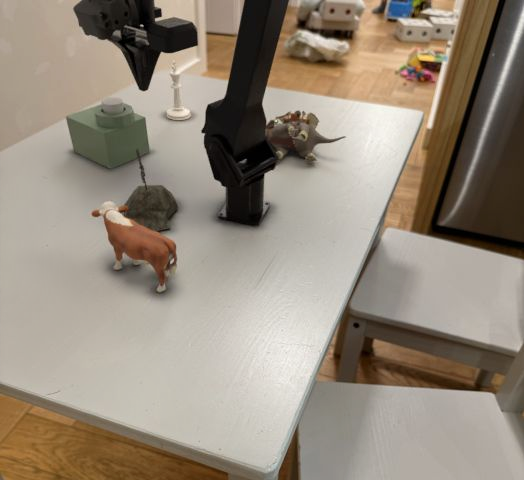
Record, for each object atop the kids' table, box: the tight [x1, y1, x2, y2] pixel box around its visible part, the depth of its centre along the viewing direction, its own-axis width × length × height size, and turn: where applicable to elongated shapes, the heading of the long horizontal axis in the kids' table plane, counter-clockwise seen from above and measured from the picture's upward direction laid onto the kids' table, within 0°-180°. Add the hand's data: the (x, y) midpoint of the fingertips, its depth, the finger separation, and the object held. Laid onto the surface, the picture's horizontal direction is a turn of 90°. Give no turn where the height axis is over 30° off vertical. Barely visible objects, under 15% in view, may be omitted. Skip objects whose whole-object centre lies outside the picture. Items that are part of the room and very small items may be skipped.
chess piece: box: [166, 60, 192, 121], centre depth 99 cm, size 5×5×10 cm
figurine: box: [265, 110, 347, 164], centre depth 92 cm, size 20×6×17 cm
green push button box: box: [65, 102, 150, 170], centre depth 86 cm, size 11×9×8 cm
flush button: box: [101, 96, 124, 114], centre depth 82 cm, size 3×3×2 cm
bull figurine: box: [91, 201, 178, 294], centre depth 62 cm, size 4×13×8 cm, turn 51°
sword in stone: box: [123, 148, 179, 232], centre depth 71 cm, size 10×8×12 cm
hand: (143, 90), depth 76 cm, fingers closed
